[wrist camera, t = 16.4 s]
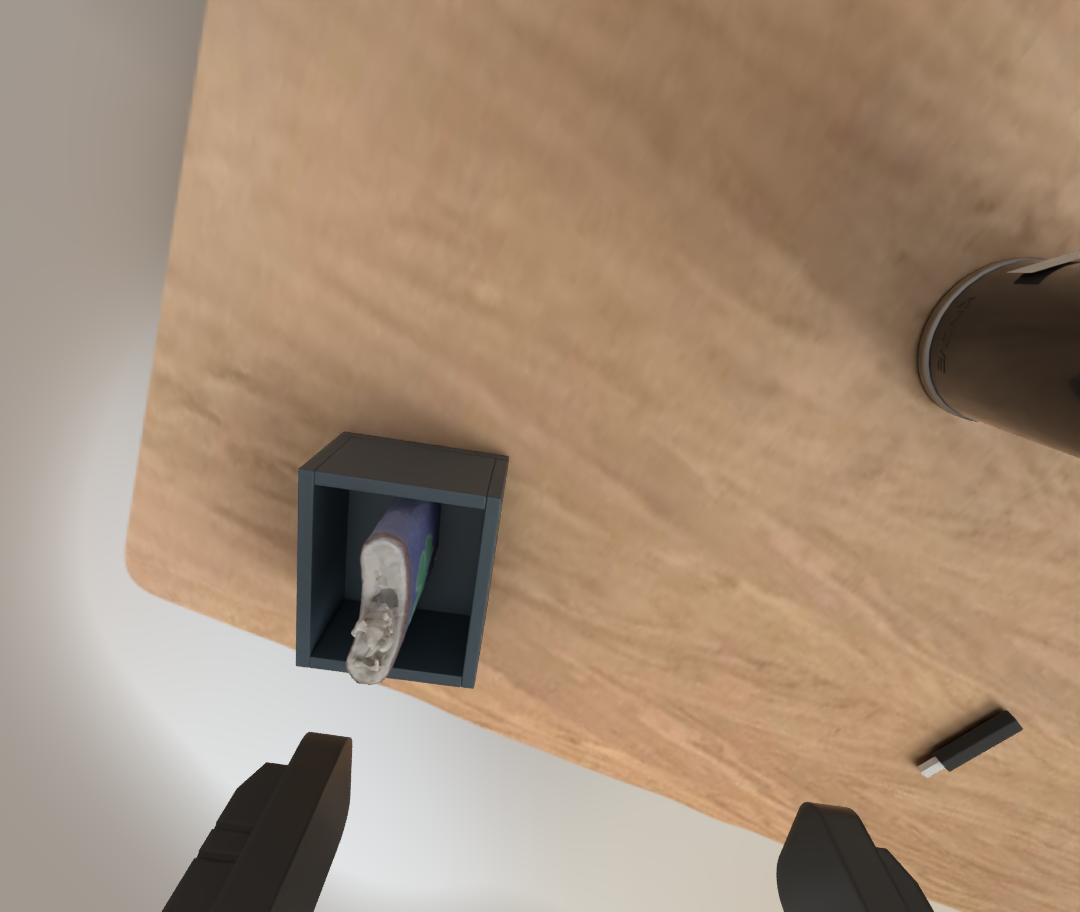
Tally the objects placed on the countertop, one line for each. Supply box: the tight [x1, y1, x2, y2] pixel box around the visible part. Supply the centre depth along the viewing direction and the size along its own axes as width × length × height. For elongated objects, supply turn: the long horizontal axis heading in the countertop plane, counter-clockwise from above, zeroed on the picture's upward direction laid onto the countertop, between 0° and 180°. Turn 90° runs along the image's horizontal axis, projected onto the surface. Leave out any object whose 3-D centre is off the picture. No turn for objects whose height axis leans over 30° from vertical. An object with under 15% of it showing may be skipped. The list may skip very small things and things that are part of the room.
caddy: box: [296, 432, 509, 689], centre depth 34 cm, size 11×13×7 cm
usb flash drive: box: [917, 711, 1023, 778], centre depth 42 cm, size 8×2×1 cm, turn 133°
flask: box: [346, 496, 441, 685], centre depth 31 cm, size 9×3×11 cm, turn 168°
